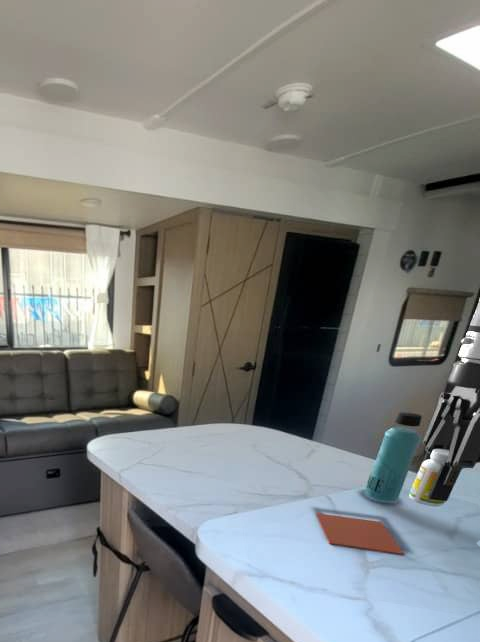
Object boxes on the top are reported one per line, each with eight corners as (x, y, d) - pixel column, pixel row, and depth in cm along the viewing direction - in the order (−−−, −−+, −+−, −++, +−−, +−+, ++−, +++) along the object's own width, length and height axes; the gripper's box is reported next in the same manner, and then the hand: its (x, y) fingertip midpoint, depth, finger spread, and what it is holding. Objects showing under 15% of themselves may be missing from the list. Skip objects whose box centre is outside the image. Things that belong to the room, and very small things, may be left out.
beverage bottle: (401, 503, 90) (436, 414, 81) (387, 511, 86) (423, 419, 78) (369, 492, 94) (400, 407, 86) (355, 499, 91) (386, 411, 82)
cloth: (380, 522, 82) (380, 521, 81) (404, 555, 71) (404, 553, 71) (315, 514, 84) (316, 512, 84) (329, 544, 74) (329, 542, 74)
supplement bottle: (401, 496, 77) (420, 448, 73) (421, 493, 79) (441, 446, 75) (430, 508, 73) (452, 458, 68) (450, 505, 74) (473, 456, 70)
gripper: (432, 353, 74) (388, 471, 84) (492, 368, 58) (428, 511, 68) (481, 356, 72) (429, 476, 82) (556, 371, 56) (481, 518, 66)
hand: (429, 492), depth 75 cm, fingers closed on supplement bottle, 5 cm apart
